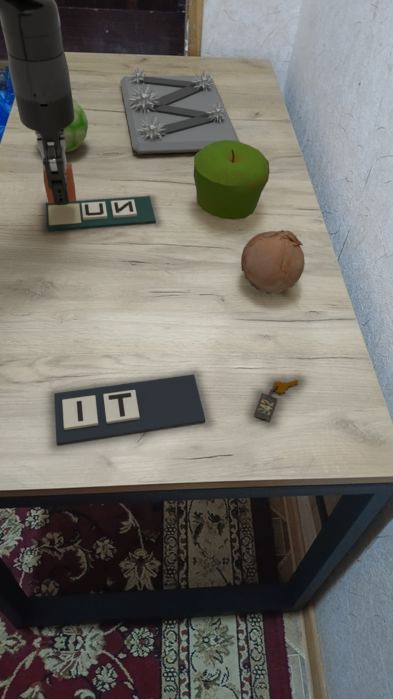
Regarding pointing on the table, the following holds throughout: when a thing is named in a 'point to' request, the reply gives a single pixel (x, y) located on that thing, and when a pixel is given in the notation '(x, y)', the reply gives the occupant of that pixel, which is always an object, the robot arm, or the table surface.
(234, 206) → the apple
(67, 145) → the decorative ball
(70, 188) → the red striped block
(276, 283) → the onion
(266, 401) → the key tag
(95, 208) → the far word mat
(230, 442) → the table surface
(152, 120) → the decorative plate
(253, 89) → the table surface
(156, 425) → the near word mat
